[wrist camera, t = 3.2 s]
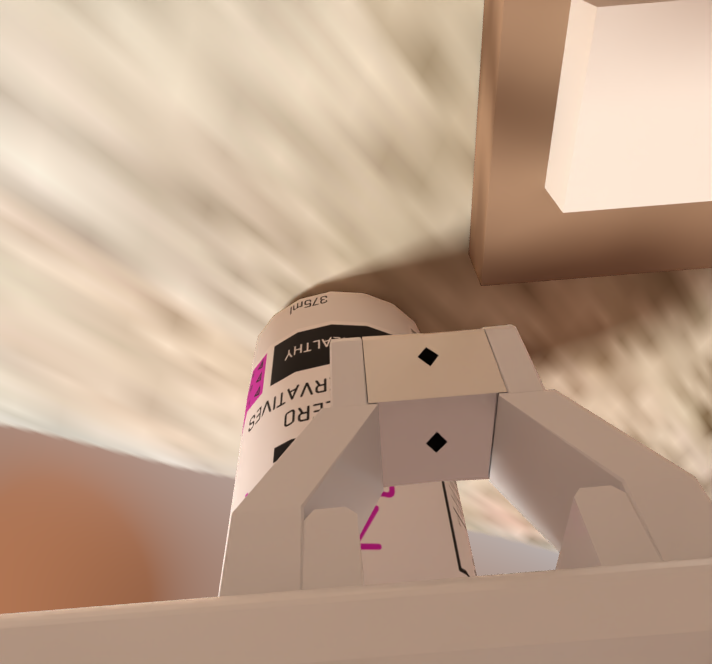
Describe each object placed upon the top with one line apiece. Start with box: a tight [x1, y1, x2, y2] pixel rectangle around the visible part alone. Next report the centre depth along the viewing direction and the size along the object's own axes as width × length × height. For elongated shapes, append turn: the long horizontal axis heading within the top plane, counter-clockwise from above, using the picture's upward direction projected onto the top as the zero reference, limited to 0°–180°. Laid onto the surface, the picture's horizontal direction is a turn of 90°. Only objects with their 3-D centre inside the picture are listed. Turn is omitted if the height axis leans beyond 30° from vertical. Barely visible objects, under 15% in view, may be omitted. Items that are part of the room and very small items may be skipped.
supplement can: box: [218, 291, 477, 597], centre depth 22 cm, size 8×8×15 cm
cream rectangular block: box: [545, 0, 712, 213], centre depth 18 cm, size 6×9×2 cm, turn 94°
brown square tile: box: [469, 0, 712, 286], centre depth 20 cm, size 14×13×2 cm
